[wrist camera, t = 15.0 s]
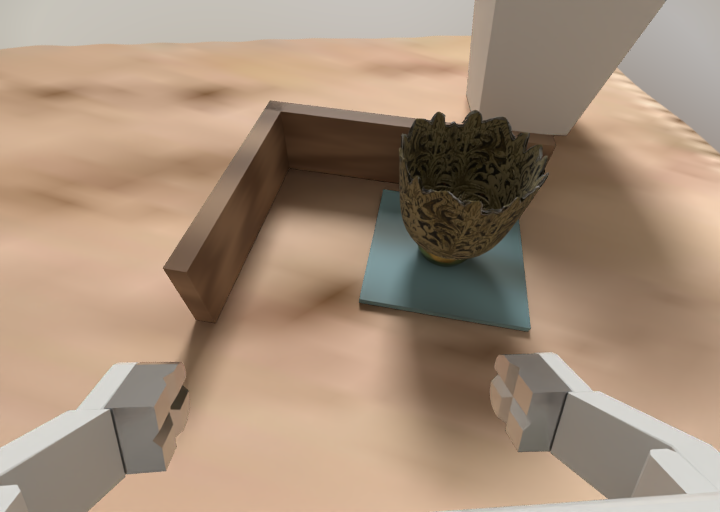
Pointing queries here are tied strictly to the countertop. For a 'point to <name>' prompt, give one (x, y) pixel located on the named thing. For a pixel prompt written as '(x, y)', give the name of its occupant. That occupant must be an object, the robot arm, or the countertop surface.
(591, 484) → the robot arm
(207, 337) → the countertop surface
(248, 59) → the countertop surface
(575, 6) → the soap bottle
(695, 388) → the countertop surface
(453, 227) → the cup
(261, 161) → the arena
